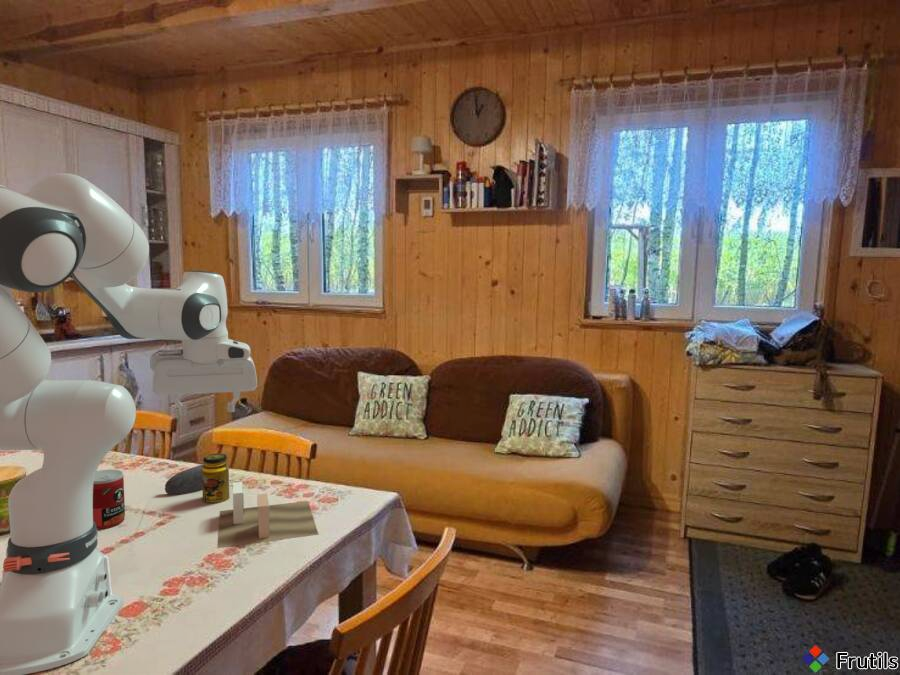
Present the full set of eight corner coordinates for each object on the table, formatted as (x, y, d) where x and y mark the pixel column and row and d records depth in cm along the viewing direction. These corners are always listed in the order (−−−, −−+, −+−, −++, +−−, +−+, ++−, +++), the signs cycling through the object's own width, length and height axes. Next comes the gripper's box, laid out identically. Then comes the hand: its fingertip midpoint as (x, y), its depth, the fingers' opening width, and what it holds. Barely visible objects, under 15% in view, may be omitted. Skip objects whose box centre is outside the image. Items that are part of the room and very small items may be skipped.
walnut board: (318, 539, 123) (318, 534, 123) (217, 553, 116) (217, 547, 116) (308, 505, 141) (308, 500, 141) (220, 515, 134) (219, 511, 134)
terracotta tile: (269, 537, 121) (269, 505, 120) (259, 539, 120) (258, 506, 120) (268, 523, 128) (267, 493, 127) (257, 525, 127) (257, 494, 126)
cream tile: (243, 523, 128) (243, 492, 127) (233, 524, 127) (232, 493, 126) (243, 510, 134) (242, 481, 133) (233, 511, 133) (233, 482, 133)
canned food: (107, 531, 125) (105, 482, 124) (76, 527, 126) (73, 479, 125) (133, 517, 132) (131, 470, 131) (103, 513, 134) (101, 467, 133)
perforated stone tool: (168, 503, 141) (167, 475, 140) (161, 496, 145) (161, 469, 144) (229, 489, 151) (229, 463, 150) (222, 483, 155) (221, 458, 154)
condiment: (202, 511, 137) (200, 462, 135) (199, 498, 144) (197, 451, 143) (234, 505, 140) (233, 457, 139) (230, 493, 147) (229, 448, 146)
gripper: (147, 353, 113) (150, 420, 115) (257, 350, 121) (258, 413, 123) (151, 347, 119) (154, 411, 121) (255, 344, 126) (256, 405, 129)
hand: (207, 412), depth 122 cm, fingers open, 8 cm apart
